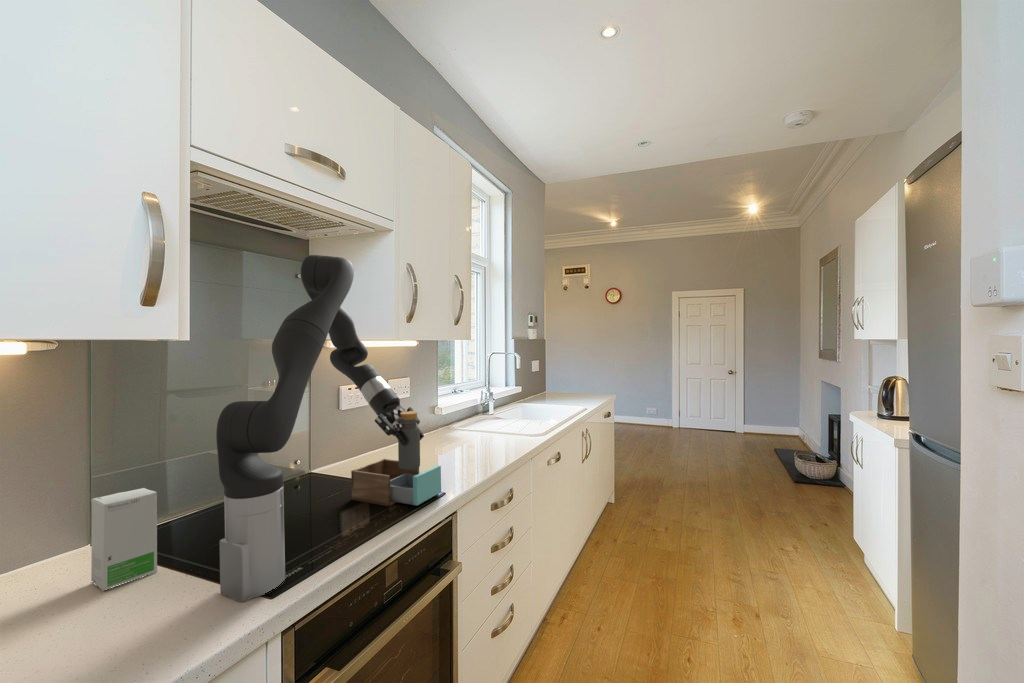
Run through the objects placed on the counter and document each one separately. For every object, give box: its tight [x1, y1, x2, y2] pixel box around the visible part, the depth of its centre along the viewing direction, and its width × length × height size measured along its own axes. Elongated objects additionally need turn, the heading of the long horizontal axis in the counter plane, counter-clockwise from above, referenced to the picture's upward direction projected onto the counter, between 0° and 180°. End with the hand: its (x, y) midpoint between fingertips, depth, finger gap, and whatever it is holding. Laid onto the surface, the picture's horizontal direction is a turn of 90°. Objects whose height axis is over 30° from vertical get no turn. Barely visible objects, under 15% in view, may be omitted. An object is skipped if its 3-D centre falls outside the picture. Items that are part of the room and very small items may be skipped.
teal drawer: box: [390, 465, 442, 506], centre depth 121 cm, size 11×12×7 cm
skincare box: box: [90, 487, 158, 591], centre depth 83 cm, size 8×7×16 cm
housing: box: [350, 458, 420, 507], centre depth 125 cm, size 13×13×8 cm
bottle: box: [397, 410, 421, 470], centre depth 121 cm, size 6×6×15 cm
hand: (414, 440), depth 121 cm, fingers closed on bottle, 5 cm apart
